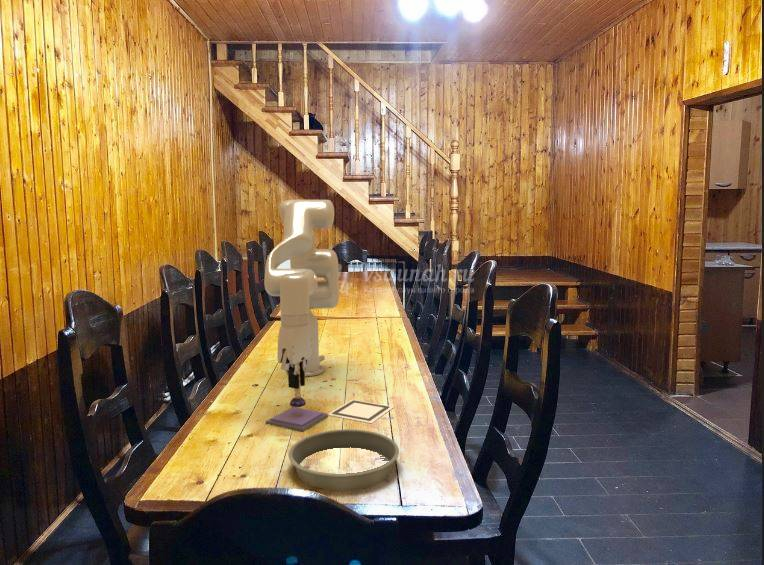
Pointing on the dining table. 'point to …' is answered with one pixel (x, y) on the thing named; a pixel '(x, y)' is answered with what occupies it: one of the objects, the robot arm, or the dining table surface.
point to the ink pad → (297, 419)
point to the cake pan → (344, 440)
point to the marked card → (361, 411)
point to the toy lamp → (298, 393)
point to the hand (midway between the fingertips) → (296, 386)
